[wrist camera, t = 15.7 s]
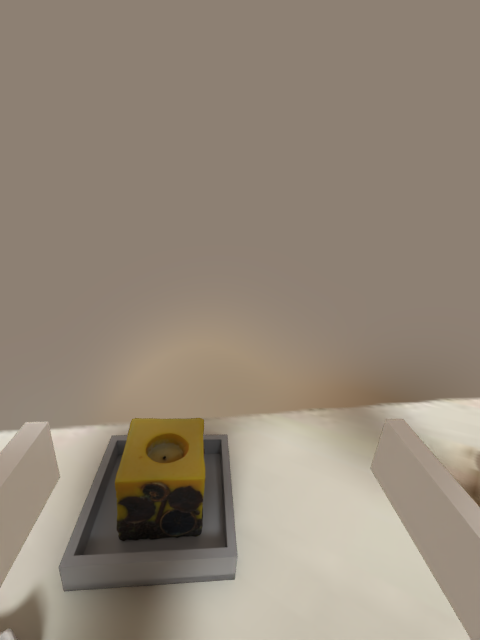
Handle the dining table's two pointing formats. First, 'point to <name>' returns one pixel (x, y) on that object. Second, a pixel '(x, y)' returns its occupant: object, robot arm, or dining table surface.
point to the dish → (7, 635)
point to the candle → (161, 480)
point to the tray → (157, 554)
